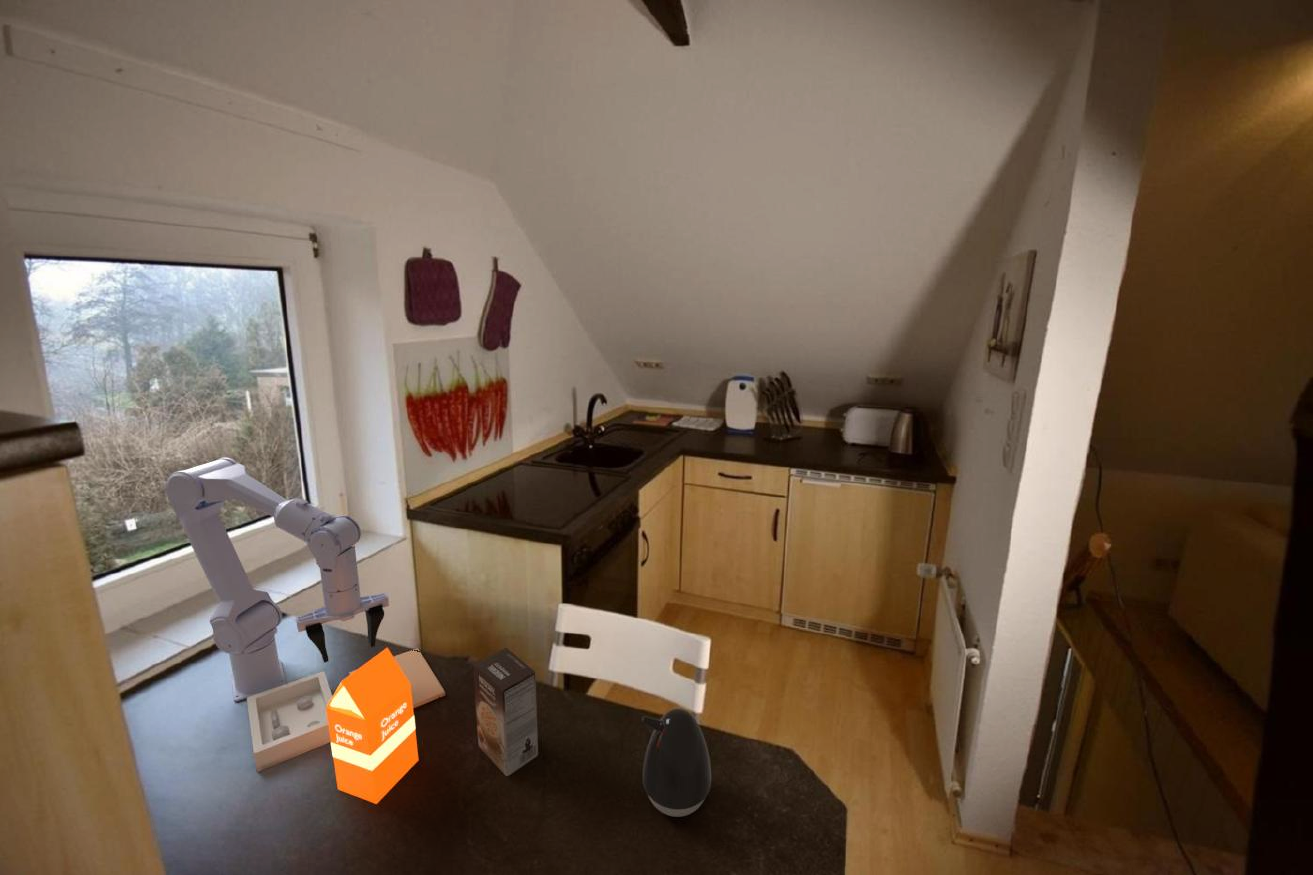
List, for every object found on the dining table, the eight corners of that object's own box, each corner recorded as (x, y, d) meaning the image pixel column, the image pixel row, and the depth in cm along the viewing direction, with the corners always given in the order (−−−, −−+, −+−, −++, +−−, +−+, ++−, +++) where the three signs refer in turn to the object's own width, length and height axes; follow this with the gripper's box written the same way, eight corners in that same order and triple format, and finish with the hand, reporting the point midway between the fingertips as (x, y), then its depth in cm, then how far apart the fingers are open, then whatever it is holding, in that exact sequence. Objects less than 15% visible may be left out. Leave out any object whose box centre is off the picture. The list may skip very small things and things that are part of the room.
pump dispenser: (642, 770, 90) (643, 688, 86) (707, 772, 89) (711, 690, 86) (638, 828, 80) (639, 738, 76) (712, 831, 79) (716, 741, 76)
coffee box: (476, 747, 94) (470, 663, 90) (509, 726, 98) (505, 646, 94) (506, 778, 88) (501, 690, 84) (540, 755, 92) (537, 670, 88)
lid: (349, 678, 111) (346, 656, 109) (418, 653, 118) (416, 633, 117) (370, 728, 98) (366, 705, 97) (445, 697, 106) (443, 675, 104)
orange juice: (419, 760, 91) (408, 651, 86) (376, 804, 83) (361, 688, 78) (381, 747, 93) (368, 641, 89) (336, 789, 85) (319, 675, 80)
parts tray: (249, 714, 100) (246, 697, 99) (326, 686, 107) (323, 671, 107) (257, 772, 88) (253, 753, 87) (342, 737, 95) (340, 719, 95)
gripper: (296, 607, 93) (306, 678, 96) (390, 581, 101) (396, 647, 105) (290, 589, 98) (300, 657, 101) (380, 567, 107) (387, 630, 110)
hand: (349, 651), depth 103 cm, fingers open, 7 cm apart
